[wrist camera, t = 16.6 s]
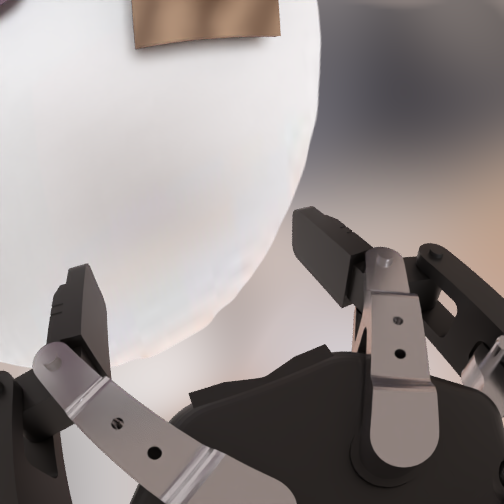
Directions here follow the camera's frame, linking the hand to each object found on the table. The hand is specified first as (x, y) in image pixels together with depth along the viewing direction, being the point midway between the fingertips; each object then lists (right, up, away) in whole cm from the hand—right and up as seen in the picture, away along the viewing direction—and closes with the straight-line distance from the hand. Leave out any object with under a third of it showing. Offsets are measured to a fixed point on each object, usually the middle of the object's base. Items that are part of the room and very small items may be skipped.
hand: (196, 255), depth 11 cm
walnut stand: (-5, +32, +15) cm, 36 cm away
